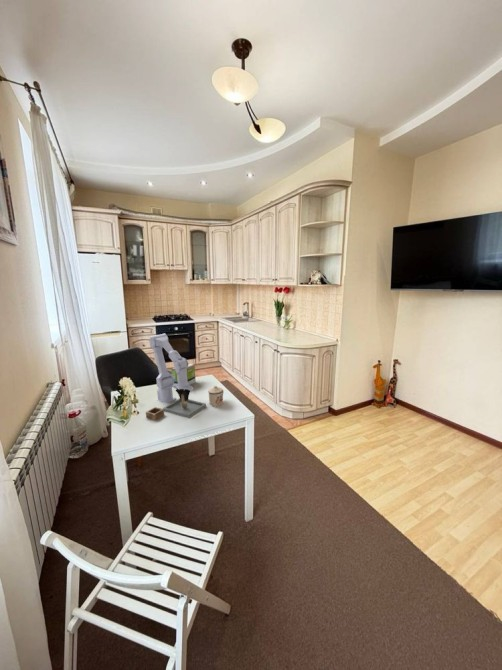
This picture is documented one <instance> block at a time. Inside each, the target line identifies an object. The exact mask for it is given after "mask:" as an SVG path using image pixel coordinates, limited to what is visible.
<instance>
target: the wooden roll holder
mask: <svg viewBox="0 0 502 670" xmlns="http://www.w3.org/2000/svg"><path fill="white" fill-rule="evenodd" d="M145 416H146V419H149V420H152V421H156V420H158V419H160V418H162V417H163V416H165V411H164V409H163V408H161V407H156V406H154V407H153V408H150V409H149V410H147V411H145Z"/></svg>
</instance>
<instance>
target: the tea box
mask: <svg viewBox="0 0 502 670" xmlns="http://www.w3.org/2000/svg"><path fill="white" fill-rule="evenodd" d="M195 366H196V365H195V364H193V363H189V362H188V367H187V368H186V369H187V381H188V385H189V386H191V385H192V384H195V383H196V382H197V381H196V367H195ZM170 370H171V374H172V377H173V378H174V384H175V383H176V384H178V380H177V373H176V370H175V367H172V368H171V369H170ZM175 388H176V389H177V387H175Z"/></svg>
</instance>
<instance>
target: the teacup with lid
mask: <svg viewBox="0 0 502 670" xmlns="http://www.w3.org/2000/svg"><path fill="white" fill-rule="evenodd" d="M224 392H225V391H224V389H223V388H222V387H219V386H217V385H213V387H211V388H209V389H208V391H207V393H208V401H209V403H208V404H209V405H210V406H211V407H219V406H221V405H223V404H224Z"/></svg>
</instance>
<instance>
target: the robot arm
mask: <svg viewBox="0 0 502 670" xmlns="http://www.w3.org/2000/svg"><path fill="white" fill-rule="evenodd" d="M148 341H149V344H150V348H151V350H153V354H154V358H155V361H156V365H157V369H158V373H159V374H158V376H157V377H156V378H155V379H156V386H157V390H156V392H157V393H156V395H157V400H156V401H158V402H160V403H161V402H162V403H163V404H164V403H165V404H168V403H169V404H170V403H171V402H174V401H176V400H177V398H176V397H174V396H173V395H174V394H173V393H174V392H173V388H175V387H177V388H176V389H175V392H176V394H178V395H177V396H178V397H179V399H180V400H182V398H181V394H183V395H184V400H185V401H187V400H188V399H189V397H190V393H191V392H194V387H193V386H191V385H188V381H187V369H186V368H187V367H188V363H189V361H188V360H187V358H185V357H182V356H181V355H180V353H179V352H178V350H174V348H173V346H172V345H171V344H170V342H169V337H168V335H167V334H166V333H162V334H156V335H151V336H150V338H149V340H148ZM163 349H164V350H165V351H166V352H167V353H168V358H169V359H170V360H171V361H172V363H173V366H174V367H175V370H176V373H177V380H178V384H176V383H175V384H174V378H173V377H172V373H170V372H168V369H167V368H168V367H167V364H166V361H165V357H164V352H163ZM174 367H173V368H174Z"/></svg>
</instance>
